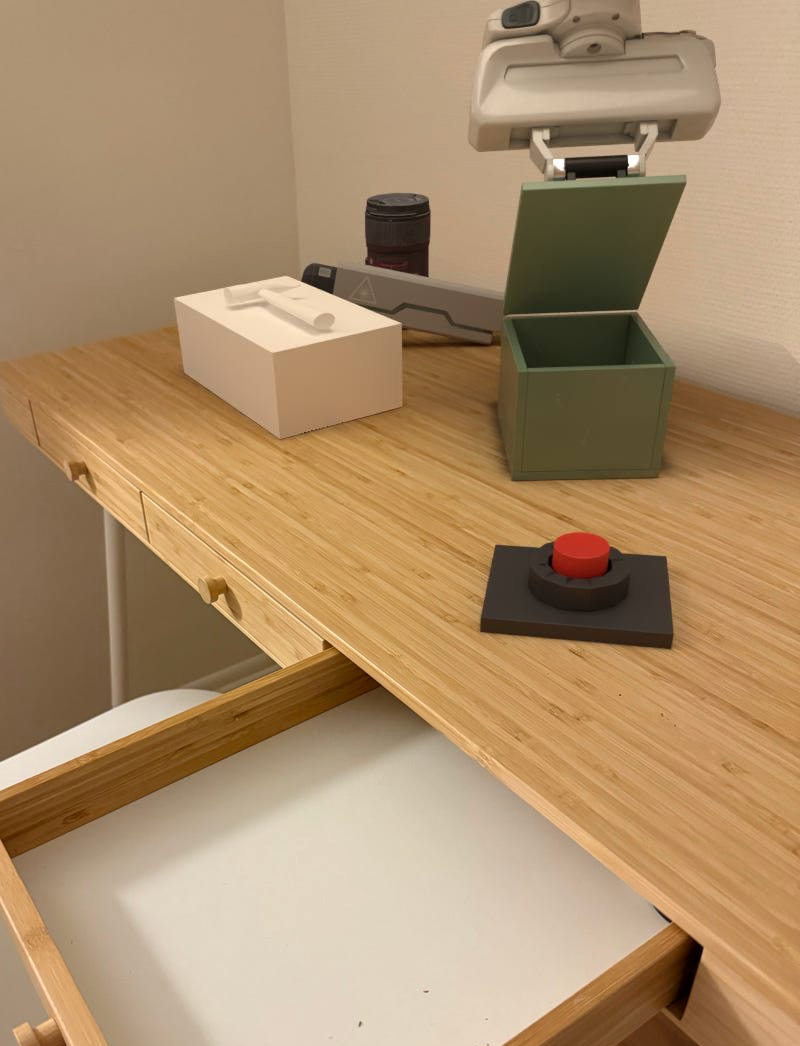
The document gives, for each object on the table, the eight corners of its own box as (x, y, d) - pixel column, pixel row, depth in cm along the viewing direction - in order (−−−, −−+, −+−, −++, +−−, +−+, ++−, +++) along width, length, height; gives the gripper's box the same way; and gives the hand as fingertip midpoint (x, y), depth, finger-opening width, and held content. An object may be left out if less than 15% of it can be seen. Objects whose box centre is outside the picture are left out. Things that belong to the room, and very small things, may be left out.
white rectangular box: (291, 348, 118) (285, 255, 112) (402, 406, 100) (401, 299, 94) (184, 372, 113) (170, 276, 107) (280, 439, 95) (270, 328, 88)
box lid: (687, 182, 74) (681, 130, 75) (522, 190, 75) (519, 139, 76) (638, 310, 90) (634, 265, 91) (502, 315, 91) (500, 271, 92)
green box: (658, 477, 83) (676, 366, 77) (511, 480, 84) (518, 371, 78) (624, 411, 96) (637, 311, 90) (497, 414, 97) (502, 316, 91)
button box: (662, 582, 69) (670, 533, 66) (668, 662, 61) (678, 610, 59) (493, 569, 72) (496, 522, 69) (479, 645, 64) (481, 594, 61)
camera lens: (385, 335, 120) (383, 207, 112) (357, 320, 126) (352, 197, 118) (441, 324, 123) (443, 198, 114) (410, 310, 129) (410, 189, 121)
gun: (293, 335, 118) (306, 252, 113) (491, 375, 119) (514, 293, 113) (290, 341, 116) (303, 257, 110) (492, 382, 117) (515, 299, 111)
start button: (607, 556, 65) (610, 533, 64) (606, 583, 62) (610, 560, 61) (553, 552, 66) (555, 530, 65) (550, 579, 63) (552, 556, 62)
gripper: (701, 59, 83) (712, 202, 80) (464, 74, 85) (467, 213, 82) (725, -2, 77) (738, 150, 74) (469, 15, 79) (472, 164, 76)
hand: (594, 183), depth 78 cm, fingers closed on box lid, 5 cm apart
